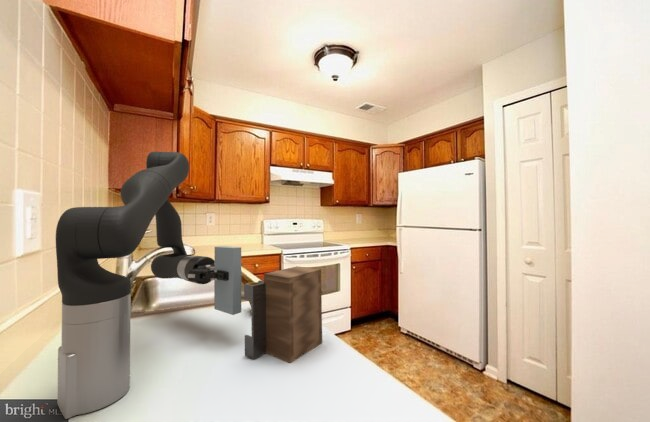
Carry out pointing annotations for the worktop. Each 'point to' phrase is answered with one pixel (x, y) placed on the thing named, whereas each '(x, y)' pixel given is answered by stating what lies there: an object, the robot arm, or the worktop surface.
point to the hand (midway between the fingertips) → (232, 275)
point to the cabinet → (293, 312)
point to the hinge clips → (256, 320)
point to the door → (228, 291)
